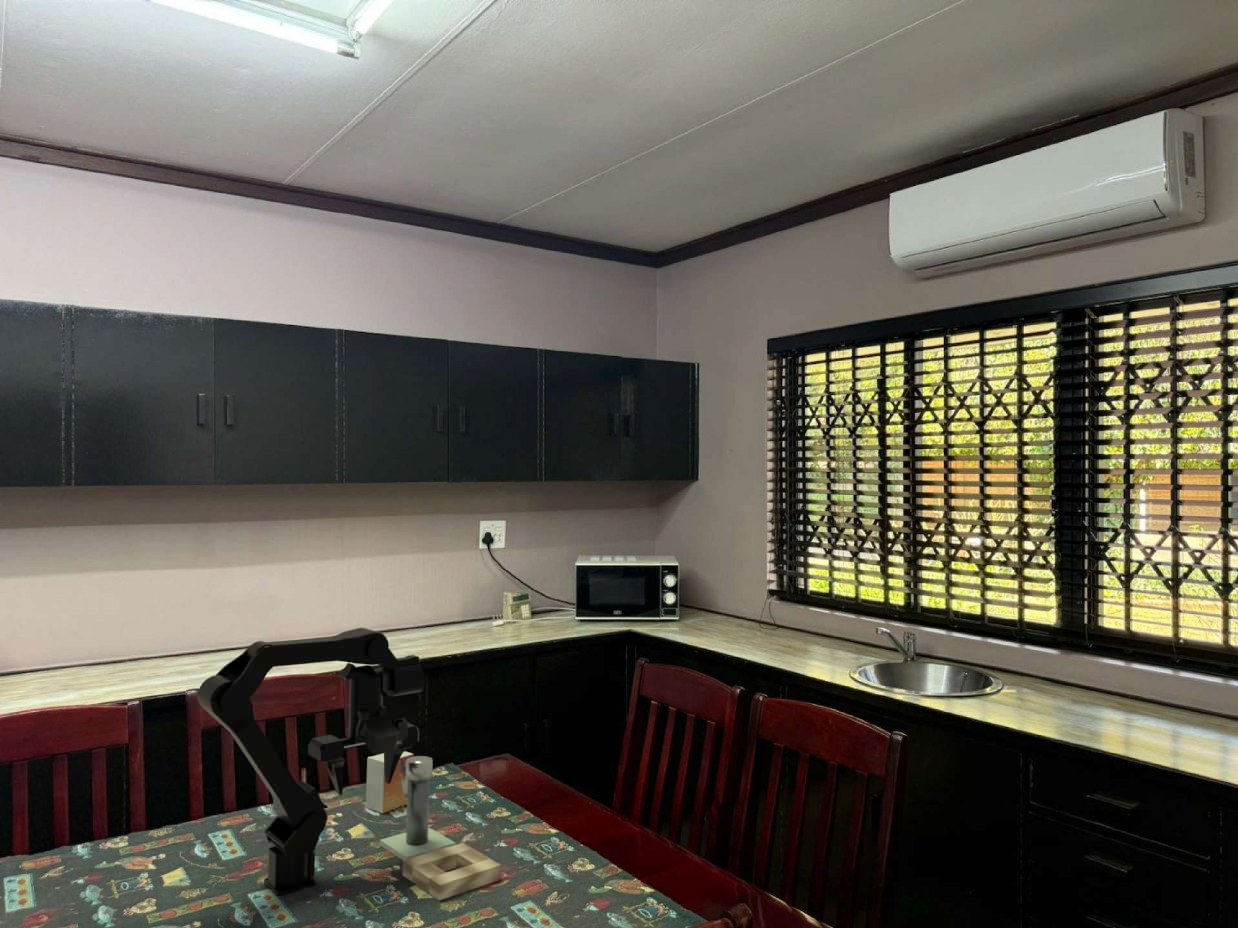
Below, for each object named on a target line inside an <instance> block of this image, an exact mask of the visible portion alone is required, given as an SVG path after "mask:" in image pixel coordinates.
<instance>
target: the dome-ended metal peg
mask: <svg viewBox="0 0 1238 928" xmlns="http://www.w3.org/2000/svg"><path fill="white" fill-rule="evenodd" d="M433 763H434V762H433V758H432V757H429V756H426V755H425V756H424V755H416V756H414V757H411V758H408V759H407V760H406V779H408V788H407V806H406V825H405V827H406V829H405V833H406V843H407V844H408V845H411V846H420V845H424V844H426V843H427V842H428V827H429V823H430V822H429V817H430V816H429V815H430V790H431V789H430V786H431V785H430V784H431V780H430V779H431V778H432V777H433Z"/></svg>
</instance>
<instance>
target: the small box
mask: <svg viewBox="0 0 1238 928" xmlns="http://www.w3.org/2000/svg"><path fill="white" fill-rule="evenodd" d="M411 757H415V755H414V753H412V752H408V751H407V750H406V751H404V752H403V753H402V755H401V757H400V759H399V761H398V764H397V766H396V769H395V772H394V774H393V777H392V780H391V782H390V784H387V783H386V782H385V775H384V752H383V753H378V754H376V755H373V756H368V757H367V758H366V759H367V760H366V761H367V763H366V789H365V791H366V792H365V793H366V794H365V808H366V809H369V810H371V811H375V812H377V813H380V814H385V813H388V812H390V811H393V810H396V808H397V809H400V808H401V807H400V806H403V807H405V806H404V805H407V788H408V779H406V760H407V759H408V758H411ZM399 807H400V808H399Z"/></svg>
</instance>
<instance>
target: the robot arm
mask: <svg viewBox="0 0 1238 928" xmlns="http://www.w3.org/2000/svg"><path fill="white" fill-rule="evenodd" d="M328 662H329V663H330V662H344V663H346V665H345V667H343V668H342V669H340V671H339V672H338V673H337V677H340V678H342V679H344V680H347V681H348V680H349V696H348V697H349V701H348V703H349V704H346V705H345V712H347V713H349V714H348V727H346V728H345V735H347V736H348V737H345V738H338V737H336V736H334V735H332V734H328V735H321V736H318V737H313V738H311V740H310V741H309V742H308V745H307V746H308V747H307V754H308V755H309V756H311V757H312V758H313V759H316V760H318V761H319V762H322V763H323V764H324V767H325V768H326V770H327V772H328V774H329V777H330V780H331V782H332V784H333V786H334V789H335V791H336V794H337V795H338V796H342V795H343V791H344V790H343V788H344V787H343V785H344V783H343V778H344V777H343V766H344V763H345V762H346V759H345V758H343V757H342V756H343V755H344V754H345V750H351V749H354V748H360V747H364V746H367V748H368V750H369V752H370V754H371V753H372V754H376V755H379V754H382V752H383V753H384V775H385V782H386V783H387V784H390V782H391V780H392V777H393V774H394V772H395V769H396V766H397V764H398V761H399V759H400V757H401V755H402V753H403V752H404V751H406V752H407V750H408V749H411V748H412V746H413V744H416V743H419V741H420V729H419V727H417V726H416V725H415V724H412V723H410V722H408V721H407V720H406V718H405V717H401V718H395V719H390V720H389V719H388V715H387V714H388V711H387V707H386V706H385V705H384V706H383V702H384V695H383V694H384V692H385V693H386V695H387V696H389V697H398V696H404V695H410V694H415V693H420V692H422V691H423V689H424V687H425V685H426V684H425V683H426V675H425V673H424V669H423V667H422V664H421V663H420V656H419V655H414V654H409V655H406V656H403V657H396V655H395V654H394V653H393V652H392V650H391V649H390V645H389V641H388V638H387V636H385V634H384V633H382V632H379V631H376V630H373V629H368V628H366V627H357V628H353V629H350V630H346V631H343V632H341V633H338V634H336V635H334V636H328V637H318V638H317V637H316V638H305V639H302V638H301V639H289V640H288V639H287V640H278V641H263V640H260V641H259V640H258V641H255V642H253V643H252V644H250V645H249V646H248V647H247V648H246V649H245V650H244V651H243V652H242V653H241V654H239V655H238V656H237V657H236V658H234V659H232V660H231V661H229V662H228V663H227V664H226V665H223V667H222V668H221V669H220V670H219V671H218V672H217V673H216V674H214V675H212V676H210V677H208V678H207V679H205V680H204V681H203V682H202V683H201V685H200V686H199V687H198V693H197V694H196V698H197V701H198V703H199V705H200V706H201V707H202V708H203V709H204V710H205V711H206V713H208V714H209V715H210V716H211V717H212V718H214V720H215V721H217V722H218V724H219V725H221V726H222V727H223V728H225V729H226V730H227V731H228V732H229V733H230V735H231V736H232V737H233V739H234V741H235V742H236V744H237V745H238V746H239V748H240V750H241V751H242V753H243V754H244V755H245V757H246V758H247V760H248V761H249V763H250V764H251V766H252V767H253V769H254V770H255V772H256V773H257V775H258V776H259V778H260V780H261V781H262V782H263V784H264V785H265V787H266V788H267V790H268V791H269V793H270V794H271V797H272V802H273V808H274V811H275V813H276V817H275V818H274V820H272V822H271V823H270V824H269V825H268V826H267V828H266V829H265V830H264V835H265V838H266V841H267V842H268V843H269V844H271V845H272V846H271V847H269V848H268V865H267V867H268V869H267V873H268V875H267V877H265V878H264V879H263V883H264V884H265V885H266V886H267V887H268V888H270V890H272V891H273V892H274V893H275V894H276V895H278V896H281V895H285V894H287V893H292V892H294V891H298V890H301V889H304V888H308V887H311V886H315V885H317V880H316V879H314V877H315V873H316V872H315V870H316V852H315V850H316V847H317V844H318V842H319V839H320V836H321V834H322V832H323V831H324V829H325V827H326V825H327V822H328V819H329V818H328V814H327V811H326V810H325V809H328V807H329V806H328V805H327V804H325V803H323V801H322V800H321V797H320V794H319V792H318V791H317V789H316V788H315V787H313V786H312V785H310V784H308V783H307V782H305V781H304V780H302V779H301V780H300V781H299V782H298V783H297V781H296V780H295V778H294V777H293V776H292V774H291V772H290V771H289V769H288V768H287V767H286V765H285V763H284V761H283V760H282V759H281V757H280V755H279V753H278V752H277V751H276V749H275V748H274V746H273V745H272V744H271V741H270V740H269V739H268V737H267V736H266V734H265V732H264V731H263V730H262V728H261V727H260V725H259V724H258V722H257V719H256V714H255V707H254V704H253V703H252V700H251V697H252V696H253V695H254V694H255V693H256V691H258V689H259V688H260V686H261V684H262V683H263V681H264V679H265V678H266V676H267V675H268V673H269V672H270V671H271V670H272V669H273V668H274V667H276V668H277V667H285V666H286V667H287V666H295V665H296V666H297V665H305V664H306V665H307V664H316V663H317V664H319V663H328ZM355 664H356V665H357V664H358V665H359V666H355ZM376 665H377V666H381V667H379V668H378V667H377V668H373V666H376Z"/></svg>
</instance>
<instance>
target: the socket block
mask: <svg viewBox="0 0 1238 928" xmlns="http://www.w3.org/2000/svg"><path fill="white" fill-rule="evenodd" d="M402 876H403V877H405V878H406V879H407V880H409V881H410V882H412V883H413V884H414V885H416V886H417V887H419V888H420V889H422V890H423V891H425V892H426V893H428V894H429V895H431V896H432V897H433V898H435V899H436V900H437V901H443V900H445V899H449V898H450V897H453V896H457V895H460V894H462V893H465V892H468V891H471V890H475V889H477V888H480V887H482V886H485V885H489V884H492V883H494V882H497V881H500V879H501V876H502V864H501V863H499V862H497V861H495V860H493V859H492V858H490V857H488V856H486V855H485V854H483V853H481V852H479V851H478V850H475V848H473V847H471V846H469V845H467V844H466V843H464V842H461V843H458V844H455V845H454V846H451V847H447V848H444V849H441V850H437V851H434V852H431V853H427V854H424V855H421V856H417V857H414V858H411V859H407V860H404V861H403V860H402Z"/></svg>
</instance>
